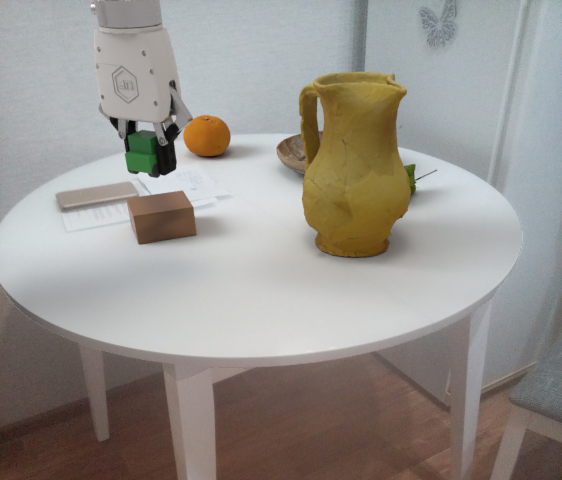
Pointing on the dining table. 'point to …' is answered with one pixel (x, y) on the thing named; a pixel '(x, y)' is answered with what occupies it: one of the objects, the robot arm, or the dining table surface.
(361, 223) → the pitcher
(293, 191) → the dining table surface
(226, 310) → the dining table surface
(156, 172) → the toy car
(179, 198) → the wooden block
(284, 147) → the ceramic bowl
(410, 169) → the toy tank
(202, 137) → the fruit
